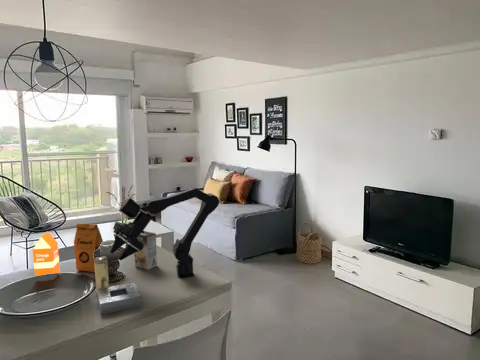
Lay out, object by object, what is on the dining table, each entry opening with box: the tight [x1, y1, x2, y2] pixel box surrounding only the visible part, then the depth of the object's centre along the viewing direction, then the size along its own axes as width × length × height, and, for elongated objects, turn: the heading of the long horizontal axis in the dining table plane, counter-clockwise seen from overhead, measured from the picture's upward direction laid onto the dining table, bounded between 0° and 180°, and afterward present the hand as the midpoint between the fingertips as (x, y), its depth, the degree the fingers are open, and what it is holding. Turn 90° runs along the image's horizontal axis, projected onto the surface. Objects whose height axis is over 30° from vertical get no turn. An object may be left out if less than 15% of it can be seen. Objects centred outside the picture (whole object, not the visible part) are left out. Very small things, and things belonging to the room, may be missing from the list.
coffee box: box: [134, 230, 158, 271], centre depth 180 cm, size 9×6×16 cm
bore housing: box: [97, 282, 142, 315], centre depth 143 cm, size 14×14×4 cm
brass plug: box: [94, 255, 110, 295], centre depth 152 cm, size 5×5×14 cm
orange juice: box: [32, 231, 61, 277], centre depth 168 cm, size 8×9×20 cm
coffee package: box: [73, 223, 104, 273], centre depth 176 cm, size 10×12×22 cm
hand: (115, 256), depth 155 cm, fingers open, 9 cm apart
